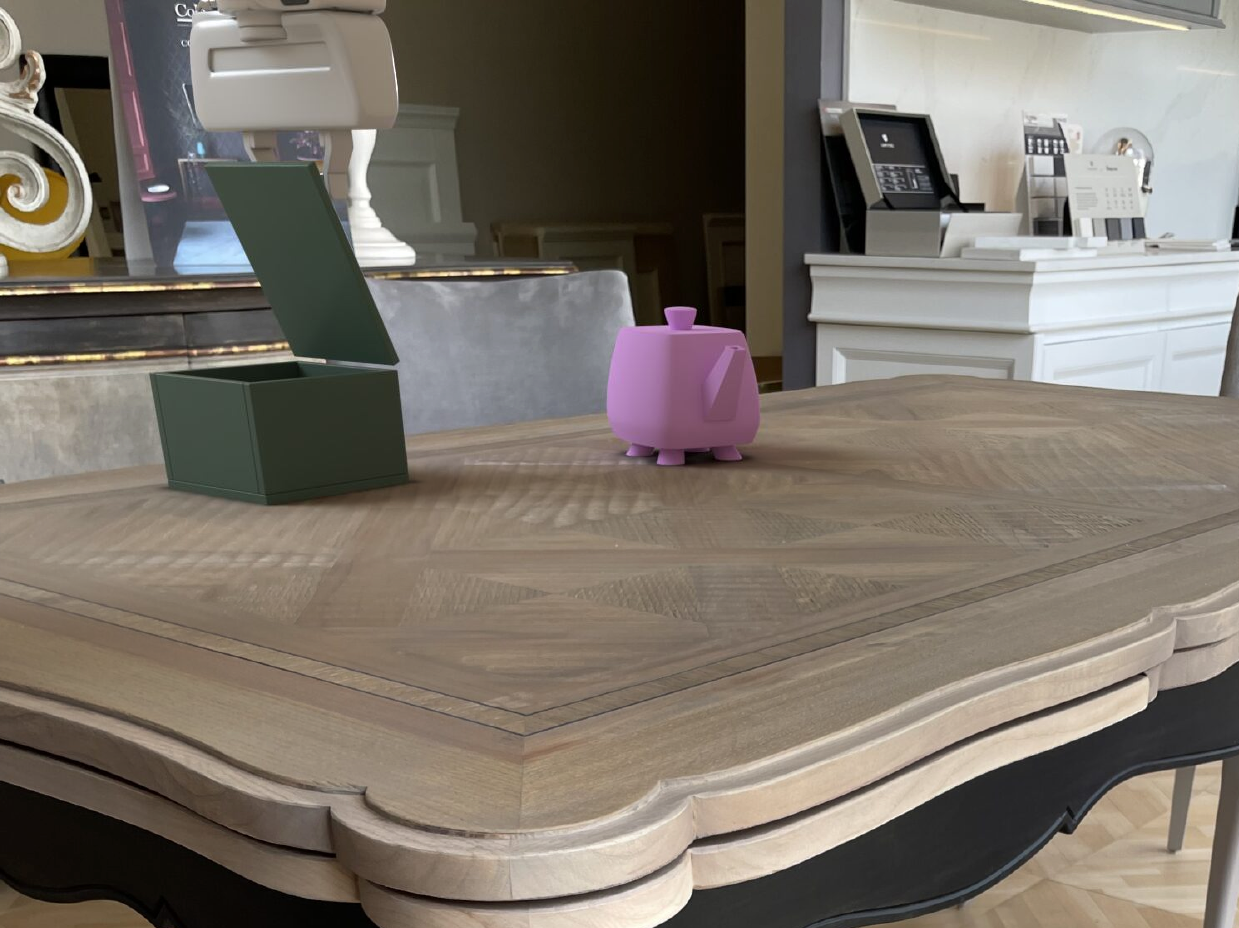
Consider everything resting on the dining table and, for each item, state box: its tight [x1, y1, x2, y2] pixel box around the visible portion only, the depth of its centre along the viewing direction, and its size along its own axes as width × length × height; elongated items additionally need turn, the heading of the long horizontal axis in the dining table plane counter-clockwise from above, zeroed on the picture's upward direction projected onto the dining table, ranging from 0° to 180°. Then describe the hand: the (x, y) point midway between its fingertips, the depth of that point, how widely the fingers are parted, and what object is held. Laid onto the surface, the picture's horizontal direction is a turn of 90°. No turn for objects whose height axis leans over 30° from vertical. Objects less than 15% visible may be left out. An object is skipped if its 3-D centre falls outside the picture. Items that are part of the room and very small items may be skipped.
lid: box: [203, 160, 401, 367], centre depth 126 cm, size 15×13×5 cm
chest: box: [148, 360, 410, 506], centre depth 128 cm, size 15×13×9 cm
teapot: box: [606, 306, 761, 466], centre depth 144 cm, size 20×12×13 cm, turn 33°
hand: (305, 199), depth 124 cm, fingers closed on lid, 5 cm apart
